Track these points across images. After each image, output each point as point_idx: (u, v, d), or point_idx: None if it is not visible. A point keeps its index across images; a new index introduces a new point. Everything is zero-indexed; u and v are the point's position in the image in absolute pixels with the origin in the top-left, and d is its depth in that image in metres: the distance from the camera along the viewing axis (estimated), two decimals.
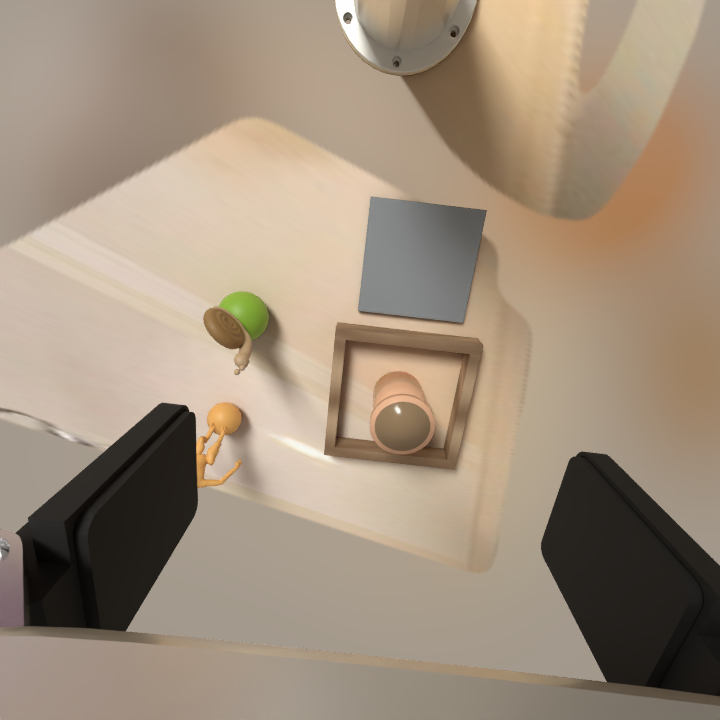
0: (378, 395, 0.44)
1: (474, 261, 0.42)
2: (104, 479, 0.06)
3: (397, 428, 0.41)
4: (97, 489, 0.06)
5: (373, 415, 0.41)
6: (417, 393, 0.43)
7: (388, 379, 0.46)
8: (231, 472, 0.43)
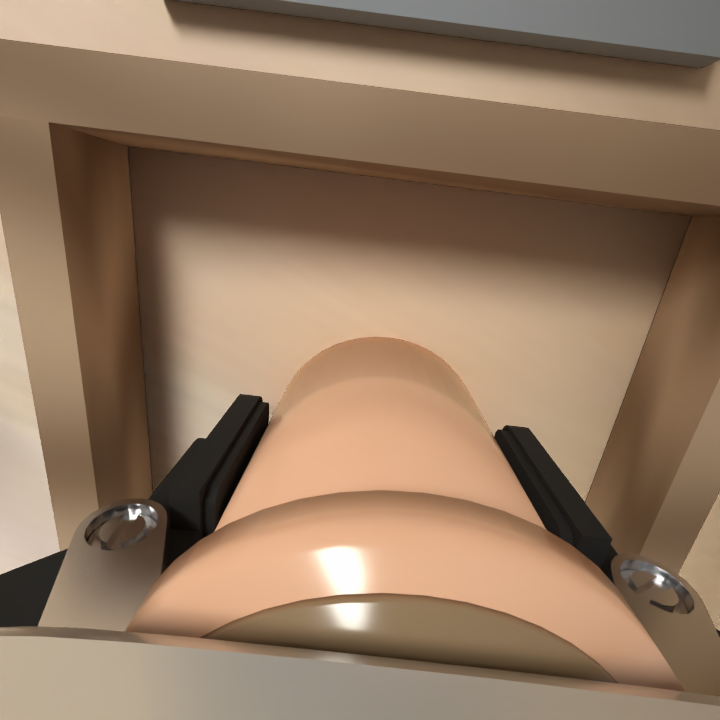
0: (254, 456, 0.08)
1: None
2: (217, 458, 0.07)
3: None
4: (215, 466, 0.07)
5: None
6: (488, 455, 0.07)
7: (325, 367, 0.10)
8: None
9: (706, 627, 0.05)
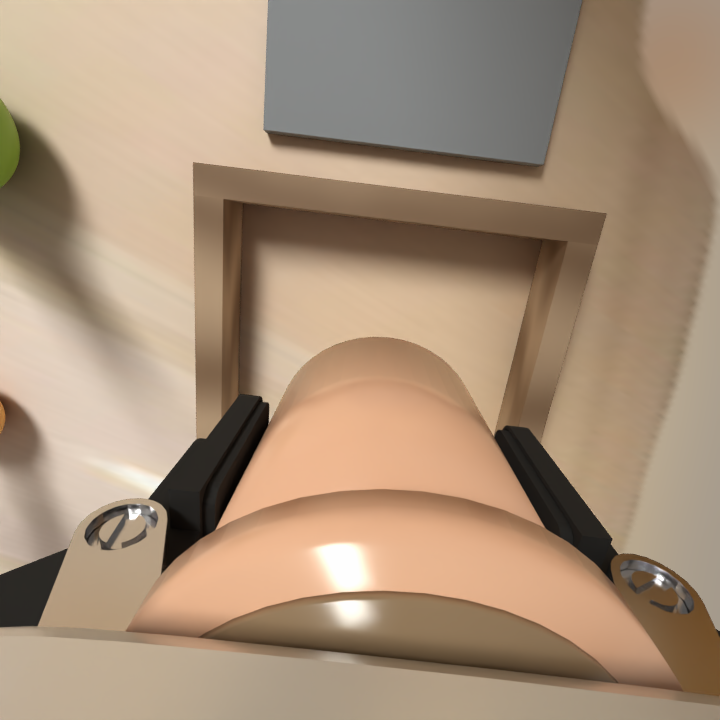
0: (254, 455, 0.08)
1: None
2: (217, 458, 0.07)
3: None
4: (216, 466, 0.07)
5: None
6: (488, 454, 0.07)
7: (325, 367, 0.10)
8: None
9: (706, 627, 0.05)
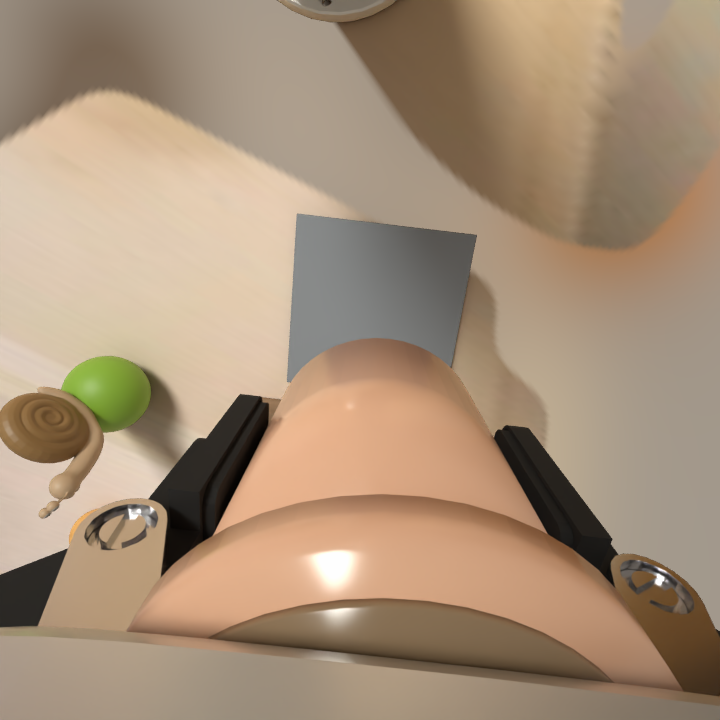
0: (254, 458, 0.08)
1: (459, 311, 0.28)
2: (217, 458, 0.07)
3: None
4: (216, 466, 0.07)
5: None
6: (489, 457, 0.07)
7: (325, 368, 0.10)
8: None
9: (706, 627, 0.05)
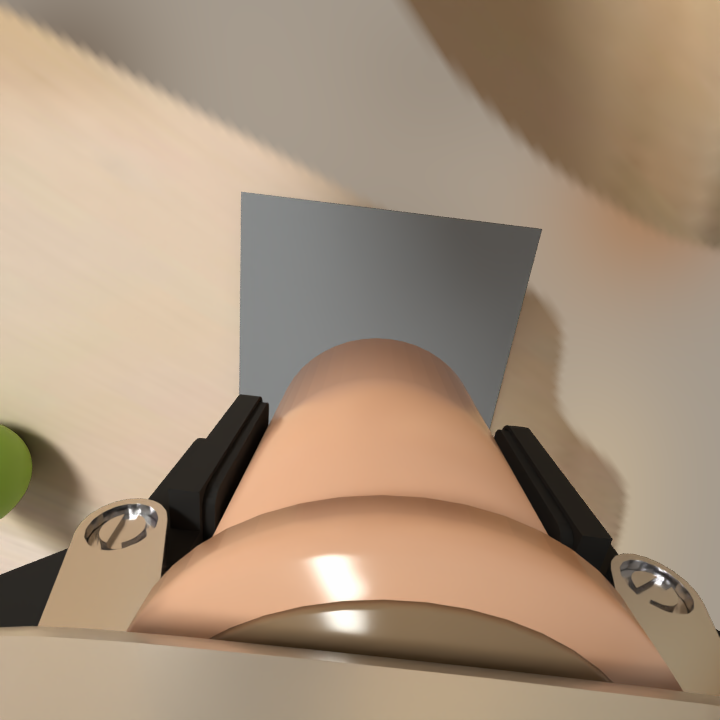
0: (253, 458, 0.08)
1: (506, 350, 0.18)
2: (217, 458, 0.07)
3: None
4: (216, 466, 0.07)
5: None
6: (489, 458, 0.07)
7: (325, 369, 0.10)
8: None
9: (706, 627, 0.05)
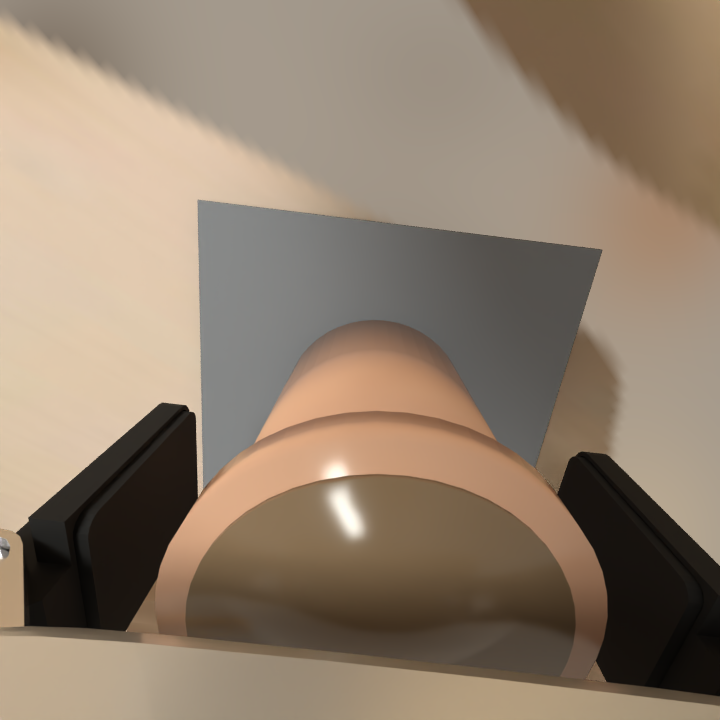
0: (271, 412, 0.09)
1: (548, 406, 0.13)
2: (104, 479, 0.06)
3: (343, 648, 0.06)
4: (98, 488, 0.06)
5: (169, 565, 0.06)
6: (464, 406, 0.08)
7: (330, 343, 0.11)
8: None
9: None
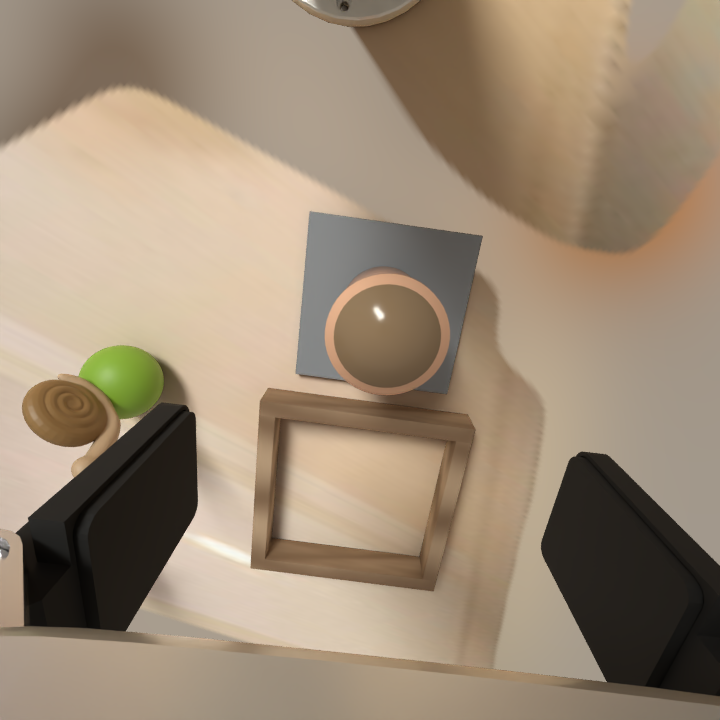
0: None
1: (463, 309, 0.29)
2: (104, 479, 0.06)
3: (377, 341, 0.21)
4: (98, 488, 0.06)
5: (331, 313, 0.21)
6: None
7: (365, 272, 0.27)
8: None
9: None
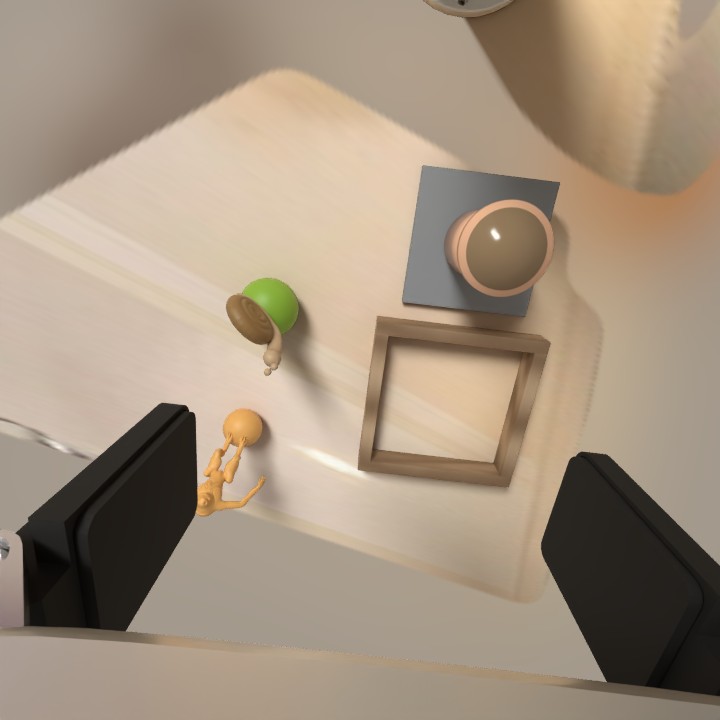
0: (463, 223, 0.32)
1: None
2: (104, 479, 0.06)
3: (499, 252, 0.29)
4: (98, 488, 0.06)
5: (466, 231, 0.28)
6: None
7: (470, 212, 0.34)
8: (253, 492, 0.36)
9: None
